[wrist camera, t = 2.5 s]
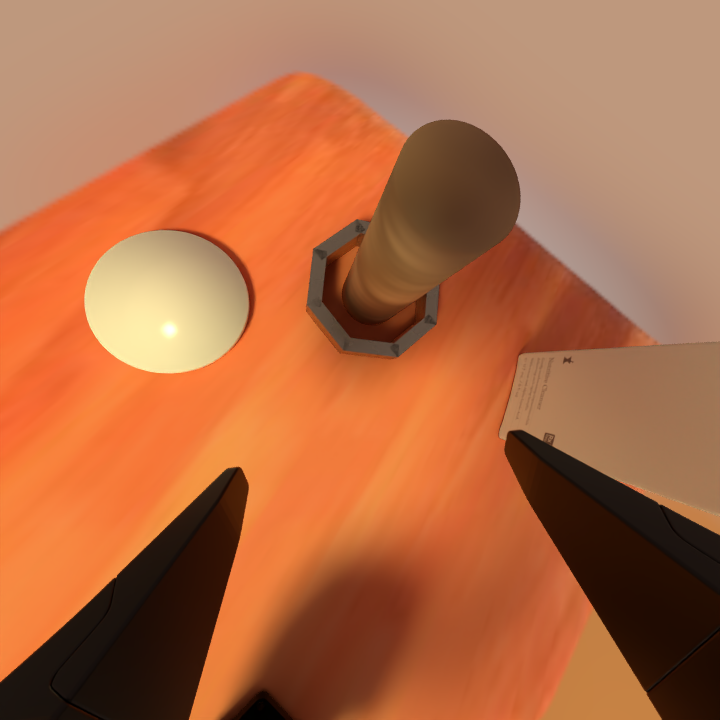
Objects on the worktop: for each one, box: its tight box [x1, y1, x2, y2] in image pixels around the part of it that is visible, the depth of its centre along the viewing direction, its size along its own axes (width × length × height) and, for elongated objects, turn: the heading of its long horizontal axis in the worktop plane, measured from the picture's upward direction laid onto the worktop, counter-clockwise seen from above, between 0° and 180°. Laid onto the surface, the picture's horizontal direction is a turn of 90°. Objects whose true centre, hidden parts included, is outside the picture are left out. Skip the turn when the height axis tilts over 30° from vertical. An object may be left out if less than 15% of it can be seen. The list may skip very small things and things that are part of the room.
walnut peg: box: [342, 120, 520, 325], centre depth 16 cm, size 5×5×13 cm
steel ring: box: [306, 219, 439, 359], centre depth 21 cm, size 10×10×2 cm
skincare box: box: [499, 342, 720, 517], centre depth 17 cm, size 8×6×15 cm
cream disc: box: [84, 230, 250, 373], centre depth 19 cm, size 10×10×1 cm
